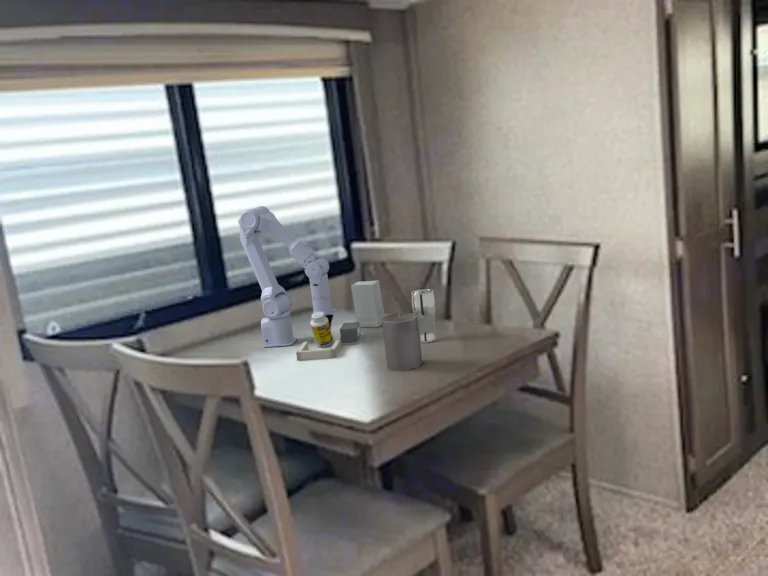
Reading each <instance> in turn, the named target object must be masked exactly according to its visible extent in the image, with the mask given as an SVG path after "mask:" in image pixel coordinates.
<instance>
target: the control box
mask: <svg viewBox="0 0 768 576" xmlns="http://www.w3.org/2000/svg"><path fill="white" fill-rule="evenodd" d="M339 335H340V340H341V347H342V346H343V347H344V346H354V345H355V346H356V345H360V343H361V341H362V339H363V337H364V334H361V327H360V324H359V322H357V321H351V322H343V323H342V325H341V326H340V329H339Z"/></svg>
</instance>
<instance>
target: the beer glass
mask: <svg viewBox="0 0 768 576" xmlns="http://www.w3.org/2000/svg"><path fill="white" fill-rule="evenodd" d="M410 293H411V310H412V313H415V314H416V315H417V319H418V328H419V337H420V344H426V343H427V344H428V342H430V343H433V342H432V341H434V342H435V340H436V341H437V340H438V337H437V334H436V329H435V323H436V299H435V294H434V290H433V289H428V288H427V289H426V288H425V289H417V290H413V291H411V292H410Z"/></svg>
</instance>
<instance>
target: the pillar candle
mask: <svg viewBox="0 0 768 576" xmlns="http://www.w3.org/2000/svg"><path fill="white" fill-rule="evenodd" d="M381 326H382V333H383V342H384V343H383V344H384V351H385V359H386V368H387V367H388V368H389V369H388V368H387V369H388V370H390V369H391V370H390V371H393V370H406V371H408V370H407V369H410V370H413V369H412V368H414V369H416V368H415V367H418V366H420V365H421V366H422V365H423V355H422V347H421V343H420V337H419V328H418V319H417V315H416V314H415V313H413V312H400V311H399V312H397V313H391V314H388V315H385V317H383V318H382V325H381ZM421 366H420V367H421ZM418 368H419V367H418Z"/></svg>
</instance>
